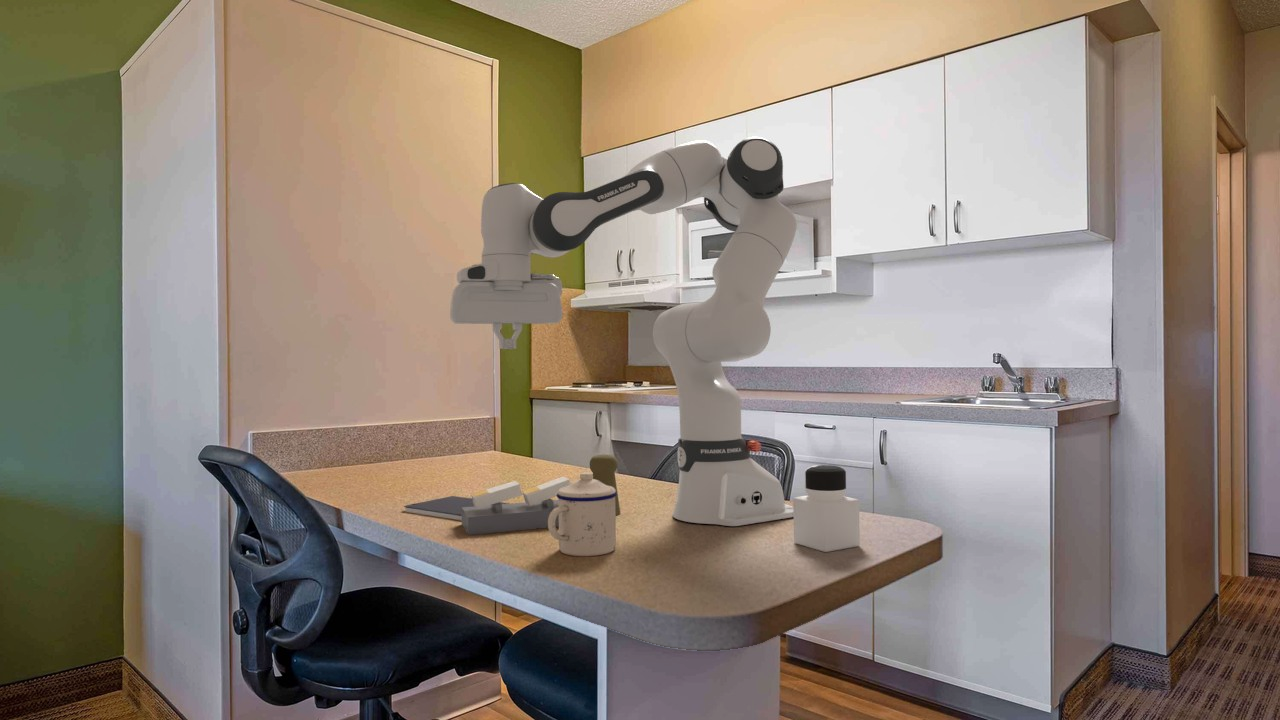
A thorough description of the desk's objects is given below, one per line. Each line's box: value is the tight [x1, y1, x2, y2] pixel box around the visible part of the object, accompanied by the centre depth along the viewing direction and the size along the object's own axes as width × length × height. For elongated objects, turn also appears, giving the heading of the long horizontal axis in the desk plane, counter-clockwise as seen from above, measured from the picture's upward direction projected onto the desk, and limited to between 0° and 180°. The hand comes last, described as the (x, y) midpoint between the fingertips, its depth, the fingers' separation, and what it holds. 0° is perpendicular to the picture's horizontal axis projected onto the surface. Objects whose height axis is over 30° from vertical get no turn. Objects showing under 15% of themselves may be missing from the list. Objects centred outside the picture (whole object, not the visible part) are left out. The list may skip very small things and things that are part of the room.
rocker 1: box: [470, 480, 523, 509], centre depth 135 cm, size 8×4×2 cm, turn 110°
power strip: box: [461, 498, 559, 536], centre depth 138 cm, size 26×9×4 cm, turn 110°
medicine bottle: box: [792, 464, 861, 553], centre depth 118 cm, size 7×7×12 cm
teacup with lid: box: [547, 472, 617, 557], centre depth 117 cm, size 12×9×12 cm
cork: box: [589, 453, 621, 516], centre depth 145 cm, size 6×6×11 cm
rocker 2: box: [521, 476, 572, 506], centre depth 138 cm, size 8×4×2 cm, turn 110°
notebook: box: [403, 495, 511, 521], centre depth 150 cm, size 13×2×21 cm
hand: (507, 348), depth 142 cm, fingers closed
